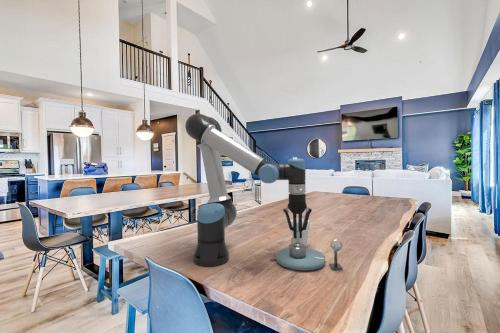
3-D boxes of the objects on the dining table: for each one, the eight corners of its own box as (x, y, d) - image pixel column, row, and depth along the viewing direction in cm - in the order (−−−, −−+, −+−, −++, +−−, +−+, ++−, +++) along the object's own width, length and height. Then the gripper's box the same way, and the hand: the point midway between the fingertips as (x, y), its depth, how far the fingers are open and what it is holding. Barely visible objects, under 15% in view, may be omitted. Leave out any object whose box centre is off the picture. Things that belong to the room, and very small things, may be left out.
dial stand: (331, 270, 101) (331, 240, 100) (328, 265, 105) (328, 237, 104) (342, 270, 101) (343, 240, 100) (339, 266, 105) (339, 237, 104)
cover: (296, 260, 104) (296, 247, 104) (285, 254, 110) (285, 242, 110) (309, 257, 107) (309, 245, 107) (298, 251, 113) (298, 240, 113)
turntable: (296, 274, 96) (296, 255, 95) (267, 256, 113) (267, 240, 113) (335, 263, 105) (335, 246, 105) (303, 248, 123) (303, 234, 122)
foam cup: (286, 244, 131) (286, 219, 130) (302, 242, 134) (302, 217, 134) (296, 251, 122) (296, 223, 122) (313, 248, 125) (313, 221, 125)
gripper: (283, 194, 112) (284, 248, 113) (313, 194, 112) (313, 248, 113) (281, 192, 119) (282, 242, 121) (309, 191, 119) (310, 242, 120)
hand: (297, 245), depth 117 cm, fingers closed
